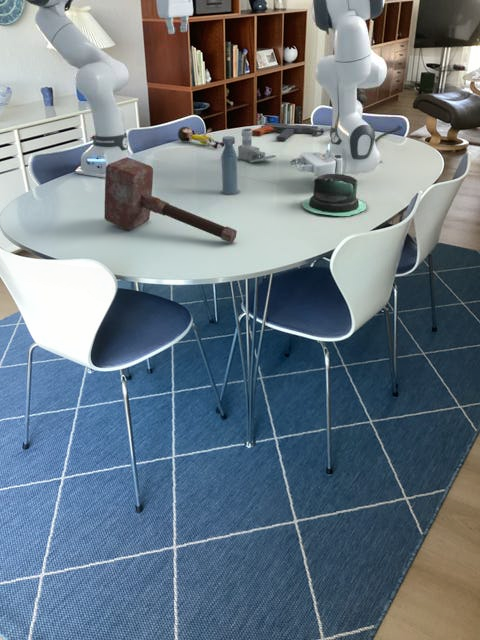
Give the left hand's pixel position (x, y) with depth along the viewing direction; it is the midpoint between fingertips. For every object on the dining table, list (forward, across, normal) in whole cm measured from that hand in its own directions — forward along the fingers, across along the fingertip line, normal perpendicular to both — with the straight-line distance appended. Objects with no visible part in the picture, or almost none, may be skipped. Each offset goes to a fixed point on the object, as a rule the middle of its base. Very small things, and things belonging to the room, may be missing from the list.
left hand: (177, 32), depth 183 cm
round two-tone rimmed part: (+48, +18, +58) cm, 78 cm away
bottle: (+48, +13, +22) cm, 54 cm away
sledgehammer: (+48, +53, +18) cm, 74 cm away
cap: (+30, +13, +22) cm, 39 cm away
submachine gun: (+48, -76, +17) cm, 92 cm away
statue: (+48, -94, +47) cm, 115 cm away
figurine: (+48, -50, -16) cm, 71 cm away
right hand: (+40, +2, +41) cm, 58 cm away
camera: (+48, -28, +17) cm, 58 cm away
